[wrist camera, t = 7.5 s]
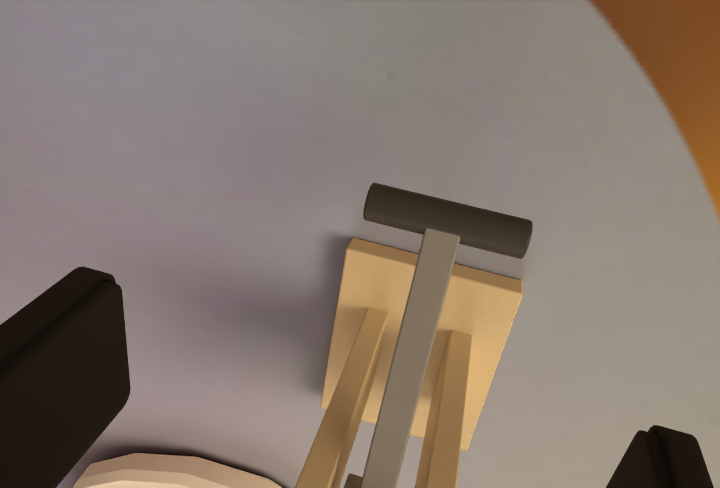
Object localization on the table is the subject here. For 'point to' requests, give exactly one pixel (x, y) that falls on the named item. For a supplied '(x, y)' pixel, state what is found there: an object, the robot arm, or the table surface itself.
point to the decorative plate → (167, 473)
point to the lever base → (375, 352)
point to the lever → (424, 305)
